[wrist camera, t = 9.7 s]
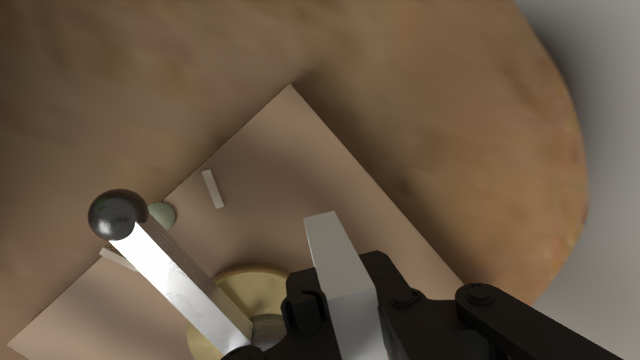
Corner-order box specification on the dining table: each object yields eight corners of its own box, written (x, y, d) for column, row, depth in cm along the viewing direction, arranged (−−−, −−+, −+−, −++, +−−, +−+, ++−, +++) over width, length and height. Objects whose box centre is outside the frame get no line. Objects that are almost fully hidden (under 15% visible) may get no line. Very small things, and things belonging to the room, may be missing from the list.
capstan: (338, 324, 24) (356, 393, 18) (244, 388, 24) (234, 474, 19) (182, 138, 19) (146, 155, 14) (71, 219, 20) (-5, 267, 14)
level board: (255, 478, 29) (253, 509, 27) (23, 321, 24) (-2, 343, 21) (476, 300, 28) (492, 317, 25) (284, 79, 22) (285, 78, 20)
